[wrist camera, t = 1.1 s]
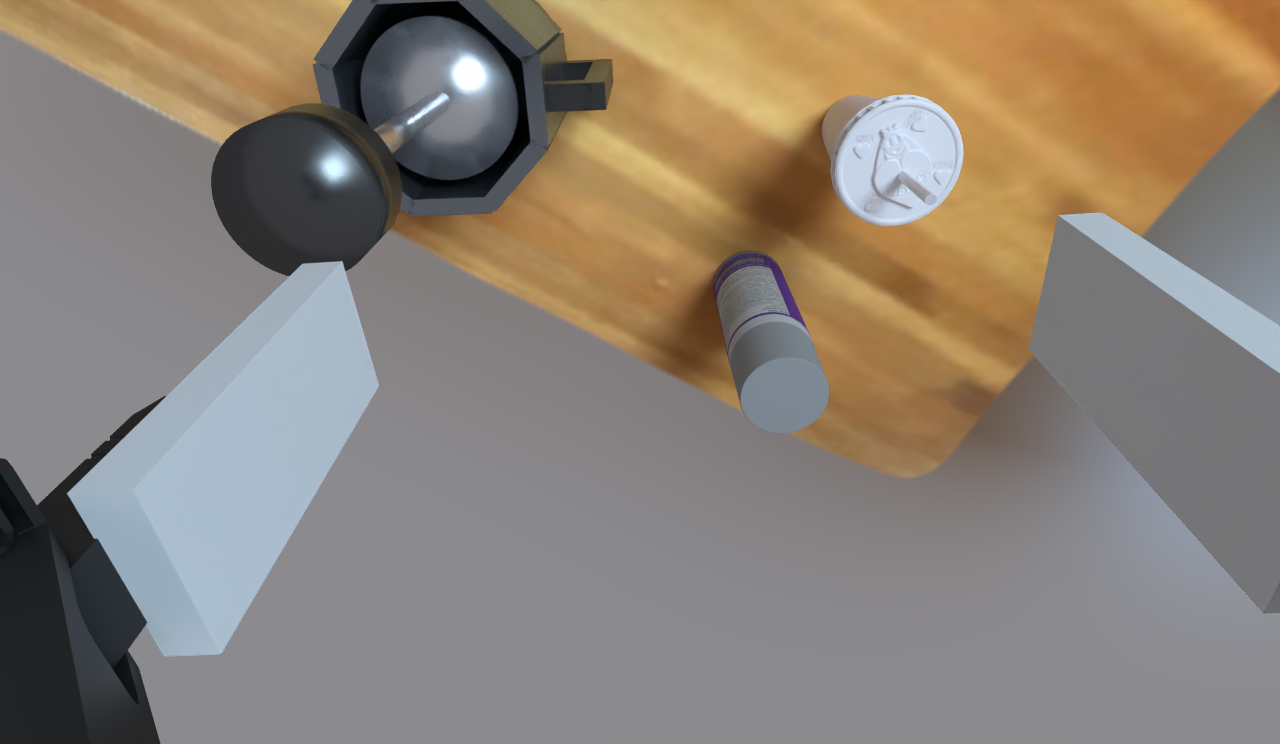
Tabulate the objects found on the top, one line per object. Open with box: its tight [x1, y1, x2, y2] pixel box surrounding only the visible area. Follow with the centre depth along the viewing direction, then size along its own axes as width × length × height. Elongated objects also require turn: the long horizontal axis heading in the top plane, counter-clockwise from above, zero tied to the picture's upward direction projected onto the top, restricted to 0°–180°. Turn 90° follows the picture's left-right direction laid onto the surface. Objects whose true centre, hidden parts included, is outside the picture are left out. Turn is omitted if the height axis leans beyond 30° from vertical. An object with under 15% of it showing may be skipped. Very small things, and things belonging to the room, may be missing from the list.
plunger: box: [211, 15, 520, 276], centre depth 28 cm, size 7×7×17 cm
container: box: [714, 251, 829, 433], centre depth 44 cm, size 5×5×15 cm
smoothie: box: [822, 94, 963, 226], centre depth 40 cm, size 6×6×14 cm
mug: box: [313, 0, 613, 216], centre depth 39 cm, size 10×13×12 cm
